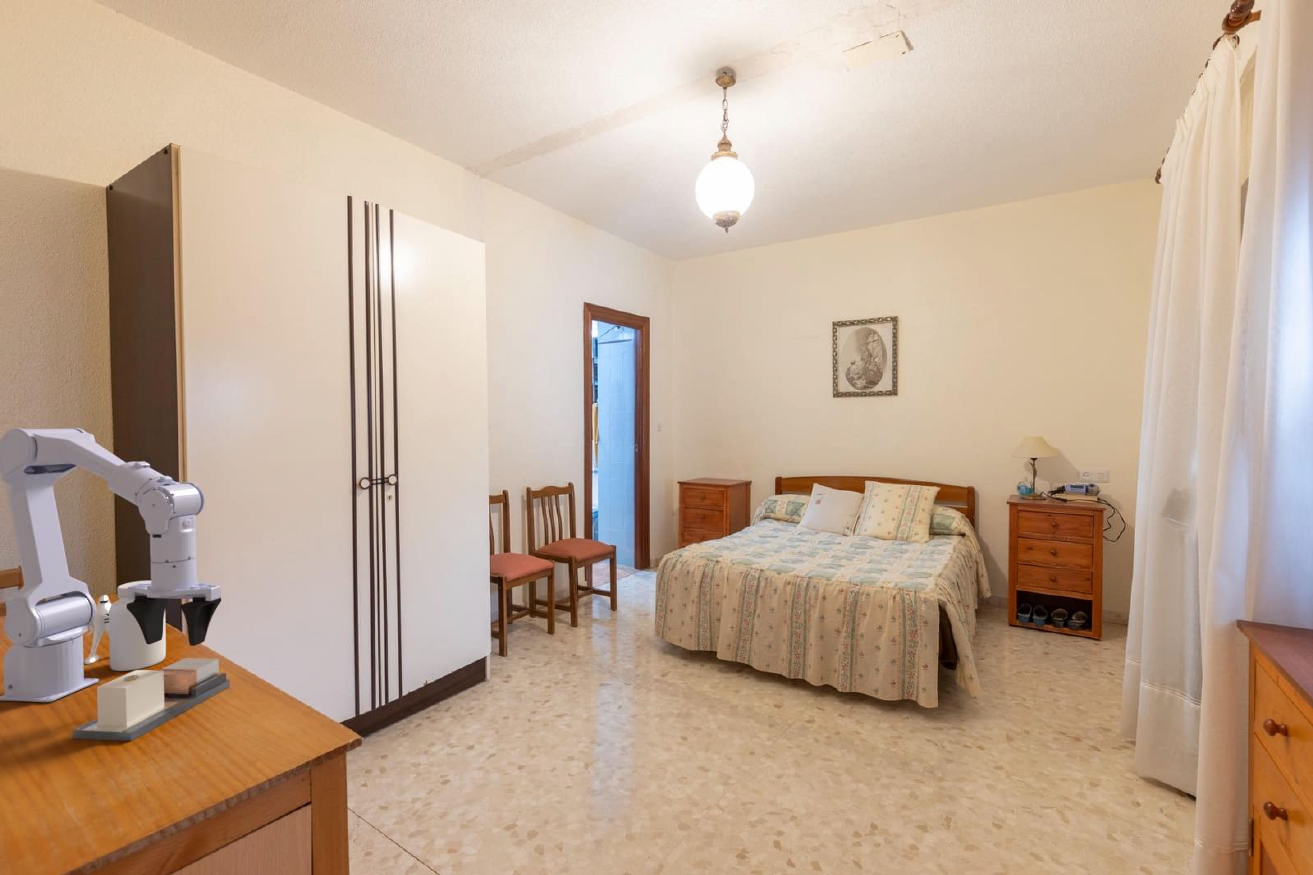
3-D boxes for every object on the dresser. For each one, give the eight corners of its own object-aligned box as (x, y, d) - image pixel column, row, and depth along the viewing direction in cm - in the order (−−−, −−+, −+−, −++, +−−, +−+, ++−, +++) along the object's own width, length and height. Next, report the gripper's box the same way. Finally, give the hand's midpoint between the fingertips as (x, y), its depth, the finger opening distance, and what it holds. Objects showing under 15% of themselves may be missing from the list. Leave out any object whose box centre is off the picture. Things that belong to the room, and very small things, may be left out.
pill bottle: (119, 676, 106) (117, 592, 106) (103, 666, 110) (101, 585, 110) (173, 660, 113) (171, 582, 113) (156, 652, 117) (154, 576, 117)
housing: (97, 724, 86) (96, 685, 86) (137, 705, 92) (136, 668, 92) (126, 725, 86) (125, 686, 86) (164, 706, 92) (163, 669, 92)
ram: (153, 694, 96) (153, 672, 96) (186, 678, 102) (185, 658, 102) (188, 695, 95) (187, 673, 95) (219, 679, 101) (218, 659, 101)
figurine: (78, 666, 111) (77, 601, 110) (80, 659, 114) (78, 597, 113) (130, 656, 115) (128, 594, 115) (130, 650, 118) (128, 590, 118)
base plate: (72, 738, 85) (72, 721, 85) (180, 684, 102) (180, 671, 102) (131, 741, 84) (130, 724, 84) (229, 686, 102) (229, 672, 102)
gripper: (107, 564, 93) (109, 650, 93) (193, 565, 91) (195, 653, 92) (150, 554, 100) (152, 634, 100) (230, 555, 98) (232, 637, 99)
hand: (175, 642), depth 96 cm, fingers open, 7 cm apart
